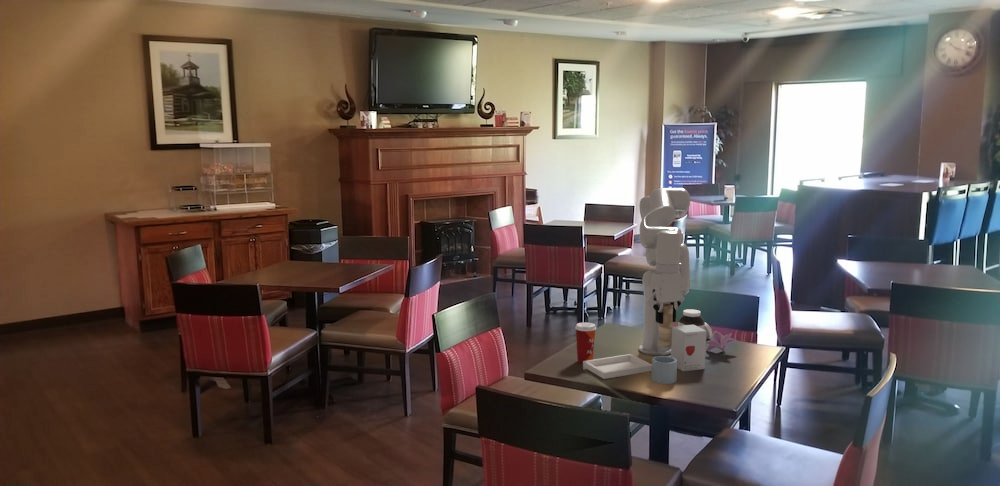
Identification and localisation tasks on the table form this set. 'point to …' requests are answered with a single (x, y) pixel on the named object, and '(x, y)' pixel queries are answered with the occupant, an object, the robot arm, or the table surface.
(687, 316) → the spread jar
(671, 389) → the table surface
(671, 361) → the cup
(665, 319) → the dowel
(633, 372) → the tray
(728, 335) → the lily
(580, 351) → the paper cup
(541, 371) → the table surface
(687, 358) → the supplement box
